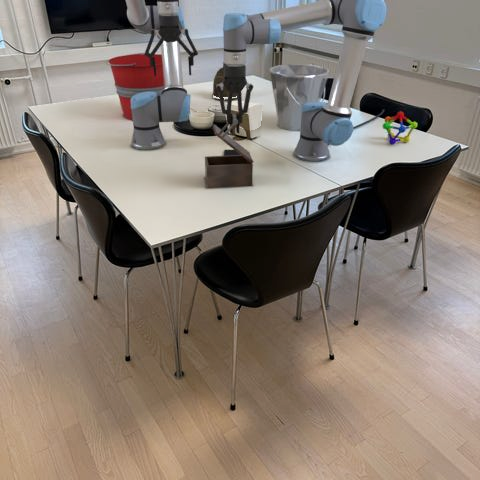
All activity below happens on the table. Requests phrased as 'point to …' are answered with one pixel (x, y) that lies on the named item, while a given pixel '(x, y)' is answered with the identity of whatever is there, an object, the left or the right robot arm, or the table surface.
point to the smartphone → (230, 152)
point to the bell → (218, 80)
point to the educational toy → (398, 128)
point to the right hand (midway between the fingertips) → (234, 132)
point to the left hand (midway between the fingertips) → (172, 75)
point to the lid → (230, 141)
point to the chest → (228, 171)
